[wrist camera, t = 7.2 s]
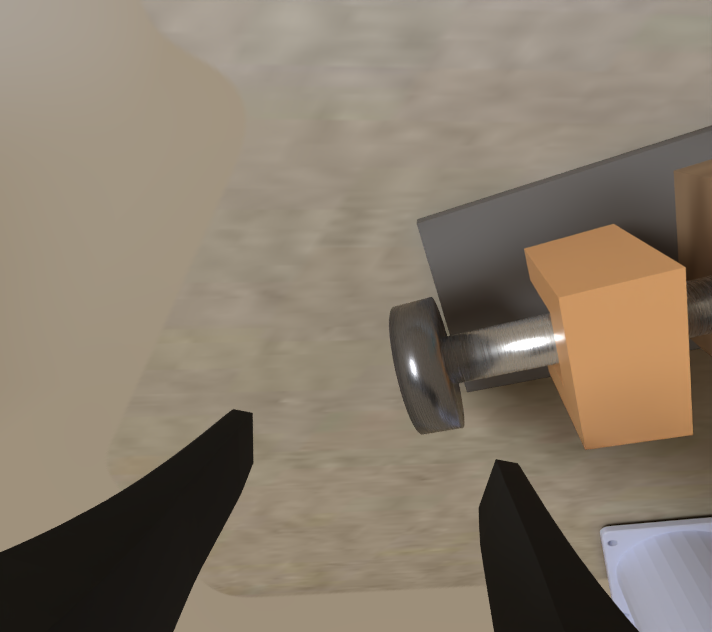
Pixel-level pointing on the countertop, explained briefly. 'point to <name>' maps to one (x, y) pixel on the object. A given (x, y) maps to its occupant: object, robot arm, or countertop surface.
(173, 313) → the countertop surface
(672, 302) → the block
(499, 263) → the bearing block
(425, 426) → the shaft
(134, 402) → the countertop surface
